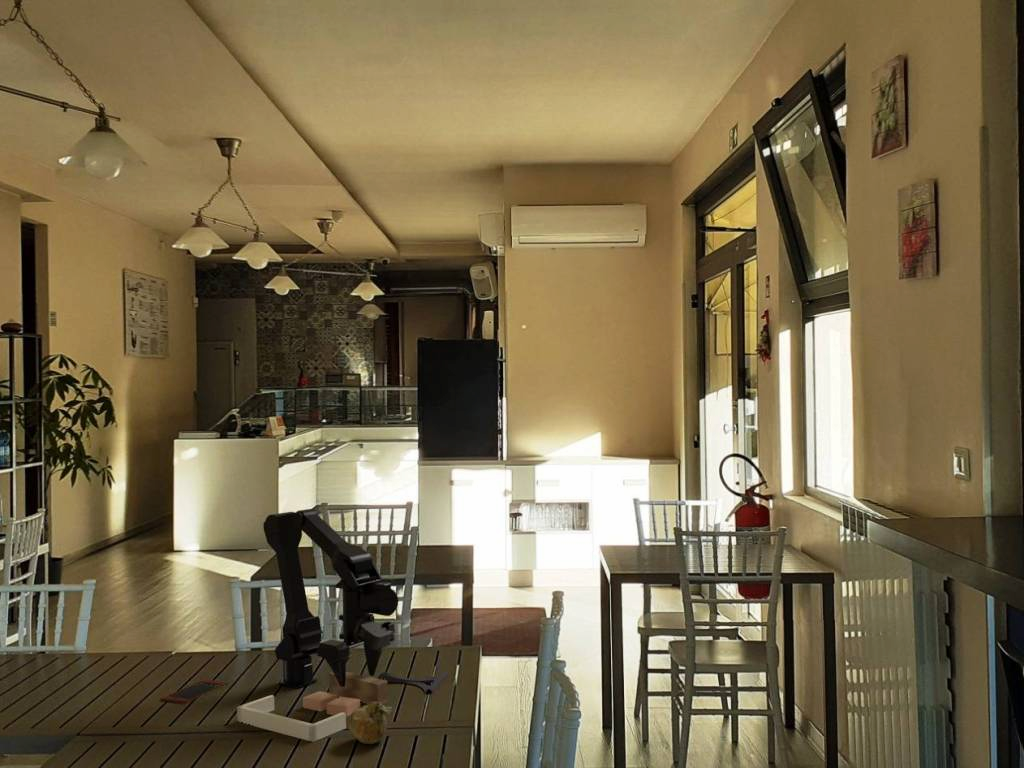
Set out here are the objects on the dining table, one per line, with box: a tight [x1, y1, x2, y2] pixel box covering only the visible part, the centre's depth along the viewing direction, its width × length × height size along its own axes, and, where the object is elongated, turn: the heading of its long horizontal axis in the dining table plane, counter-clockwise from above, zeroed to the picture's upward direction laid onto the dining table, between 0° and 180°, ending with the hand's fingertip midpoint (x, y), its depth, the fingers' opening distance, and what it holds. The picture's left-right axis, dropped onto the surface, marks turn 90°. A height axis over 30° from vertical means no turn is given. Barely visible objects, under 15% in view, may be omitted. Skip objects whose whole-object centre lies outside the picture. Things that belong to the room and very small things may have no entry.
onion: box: [347, 702, 394, 745], centre depth 194 cm, size 8×8×8 cm
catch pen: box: [236, 694, 347, 743], centre depth 205 cm, size 22×9×3 cm, turn 55°
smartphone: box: [159, 679, 229, 704], centre depth 228 cm, size 7×1×15 cm
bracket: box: [377, 669, 449, 694], centre depth 232 cm, size 14×15×3 cm
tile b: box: [326, 697, 361, 718], centre depth 212 cm, size 5×5×2 cm
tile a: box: [302, 690, 338, 712], centre depth 216 cm, size 5×5×2 cm
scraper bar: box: [328, 671, 389, 705], centre depth 221 cm, size 15×3×5 cm, turn 54°
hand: (357, 681), depth 221 cm, fingers open, 9 cm apart
